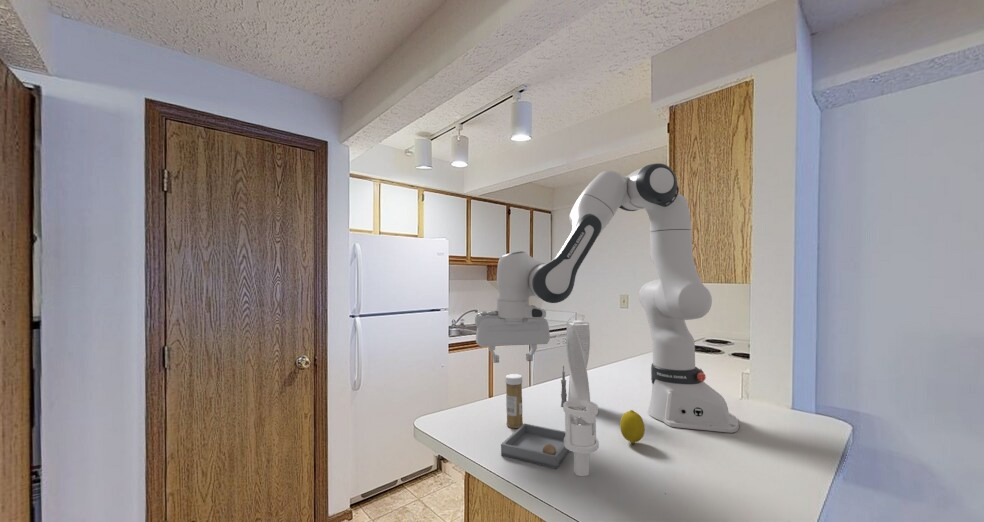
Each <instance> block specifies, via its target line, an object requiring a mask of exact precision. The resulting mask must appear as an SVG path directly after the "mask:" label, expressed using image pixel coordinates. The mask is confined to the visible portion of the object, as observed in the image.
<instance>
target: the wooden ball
mask: <svg viewBox="0 0 984 522" xmlns="http://www.w3.org/2000/svg"><path fill="white" fill-rule="evenodd" d="M543 453H547V454H552V455H555V454H556V448H555V447H554V446H553V445H551V444H547V445H545V446H544V448H543Z"/></svg>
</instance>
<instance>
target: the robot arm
mask: <svg viewBox="0 0 984 522" xmlns="http://www.w3.org/2000/svg"><path fill="white" fill-rule="evenodd" d="M679 189H680V188H679V186H678V180H677V177H676V174H675V172H674V171H673V169H672V168H671V167H670V166H669V165H666V164H664V163H658V162H657V163H651V164H648V165H645V166H644V167H641V168H638V169H636V170H634V171H632V172H631V173H629V174H628V175H626V176H623V175H621V174H620V173H618V172H616V171H614V170H603V171H601V172H599V173H598V174H597V175H596V176H595V177H594V178H593V179H592V180H591V181H590V183H588V185H587V186H585V188H584V189H583V191H582V192H581V194H580V195H579V196H578V198H577V199H576V201H575V202H574V204H573V205H572V208H571V210H570V213H569V215H568V218H569V223H570V225H571V227H572V228H571V231H570V234H569V236H568V237H567V239H566V241H565V242H564V244H563V245H562V246H561V248H560V250H558V253H557V254H556V256H555V257H554V258H553V259H552V260H551V261H549V262H547V263H545V262H543V261H540V260H538V259H537V258H534V257H532V256H531V255H529V254H528V253H527V252H526V251H523V250H522V251H520V250H519V251H513V252H509V253H506V254H503V255H502V256H500V257H499V259H498V263H497V268H496V286H497V291H498V292H497V297H496V310H492V311H491V310H490V311H486V310H485V311H483V310H482V311H480V312H479V313H477V314H476V315H475V319H474V320H475V321H474V324H475V327H476V333H475V335H476V336H475V343H476V344H477V345H478V346H479V347H484V348H485V347H488V350H489V352H490V353H491V356H492V363H494V364H495V363H497V364H499V363H500V355H498V354H496V353H495V351H496V347H504V346H505V347H508V346H529V347H530V350H529V352H528V353H525V356H526V357H525V360H526V362H533V361H534V354H535V353H536V351H537V349H538V345H547V344H549V341H550V340H551V339H550V325H549V322H548V320H547V319H546V317H547V310H545V309H543V308H540V307H537V306H535V305H531V304H530V297H532V296H533V297H537V298H539V299H541V300H542V301H544V302H545V303H549V304H550V303H551V304H558V303H561V302H563V301H565V300H566V299H567V298H569V296H571V294H572V292H573V291H574V290H573V289H574V286H575V282H576V276H577V273H578V270H579V268H580V267H581V265H582V264H583V262H584V260H585V258H586V257H587V255H588V253H589V252H590V250H591V248H592V247H593V245H594V243H595V242H596V240H597V238H598V237H599V236H600V234H601V233H602V232H603V231H604V230H605V228H606V227H607V225H609V223H610V222H611V220H612V219H613V217H614V216H615V215H616V212H617V211H618V209H621V210H624V211H626V212H634V211H639V210H643V209H644V210H645V211H646V213H647V215H648V218H649V251H650V260H651V262H652V263H653V264H654V266H655V268H656V270H657V274H658V278H657V279H653V280H650V281H648V282H645V283H644V284H643V285H642V286H641V288H640V289H639V292H638V300H639V303H640V304H641V306H642V308H644V312H645V315H646V318H647V319H646V320H647V322H648V326H649V330H650V335H651V336H650V337H651V342H652V344H651V345H652V346H651V347H652V350H651V351H652V362H651V367H650V380H651V384H652V387H651V395H650V396H651V397H650V401H649V406H648V410H647V413H648V415H650V416H651V417H652V418H654V419H656V420H658V421H661V422H662V423H665V424H666V425H668V426H669V427H672V428H683V429H689V430H691V429H692V430H701V431H711V432H717V433H718V432H720V433H731V434H732V433H735V432H737V431H738V430H739V429H740V428H739V427H740V424H739V421H738V420H739V419H738V418H737V417H736V416H735V414H733V413H731V412H730V411H729V407H728V404H727V401H726V399H725V397H724V396H722V394H721V393H719V392H717V390H715V389H714V388H712V387H711V386H710V385H708V384H707V383H706V382H705V380H706V378H707V376H706V374H705V373H704V371H703V370H702V368H699V367H698V366H696V354H695V353H696V349H695V348H696V344H695V339H694V336H693V335H692V334H691V333H690V330H689V329H688V326H687V324H686V321H688V320H689V321H691V320H696V319H698V320H699V319H701V318H703V317H705V316H707V314H708V313H709V312H710V311H711V308H712V305H713V298H712V294H711V292H710V290H709V289H708V288H707V287H706V286H705V285H704V283H703V282H702V280H701V278H700V276H699V273H698V270H697V266H696V265H695V260H694V255H693V252H694V251H693V235H692V233H693V232H692V220H691V211H690V208H689V203H688V200H687V197H685V196H684V195H682V194H680V193H679V192H680V191H679Z"/></svg>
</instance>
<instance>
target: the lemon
mask: <svg viewBox="0 0 984 522" xmlns="http://www.w3.org/2000/svg"><path fill="white" fill-rule="evenodd" d="M619 429H620V432H621V435H622V437H623V438H624V439H625V440H626V441H628V442H629V443H630V444H633V445H634V444H635V443H637V442H640V441H641V440H642V439H643V437H644V436H645V422H644V420H643V418H642V416H641V415H640V414H639V413H637V412H636V411H634V410H633V409H630V410H628V411H625V412H624V413H623V414H622V415H621V418H620V421H619Z"/></svg>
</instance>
